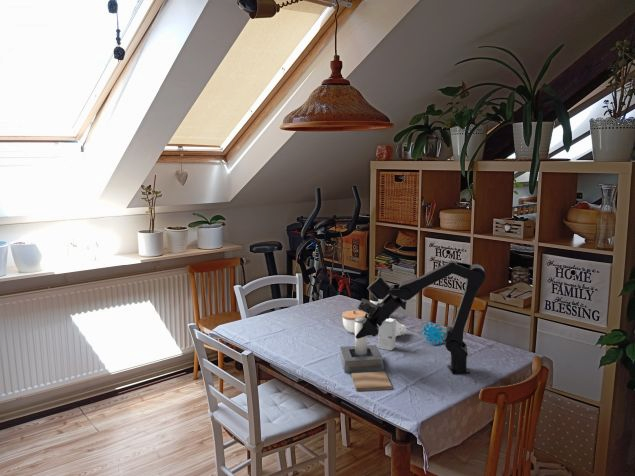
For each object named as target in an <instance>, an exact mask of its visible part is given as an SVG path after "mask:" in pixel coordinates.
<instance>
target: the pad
mask: <svg viewBox="0 0 635 476" xmlns="http://www.w3.org/2000/svg"><path fill="white" fill-rule="evenodd" d="M386 373H387V372H386V371H369V372H351V378H352V381H353V384H354V388H355V390H356V392H358V391H359V392H360V391H361V392H363V391H378V390H380V391H382V390H393V386H392V383H391V382H390V380H389V377H388V376H387V374H386Z"/></svg>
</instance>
